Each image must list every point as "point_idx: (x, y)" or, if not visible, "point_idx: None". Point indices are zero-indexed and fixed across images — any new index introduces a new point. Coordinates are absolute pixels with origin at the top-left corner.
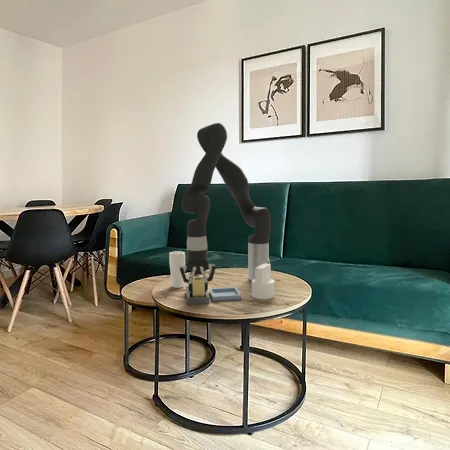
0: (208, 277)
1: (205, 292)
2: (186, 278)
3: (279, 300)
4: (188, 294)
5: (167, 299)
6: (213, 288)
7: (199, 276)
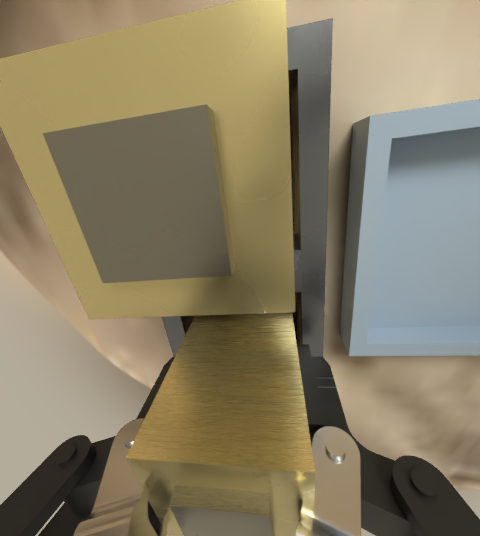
0: (391, 519)
1: (305, 307)
2: (80, 491)
3: None
4: (176, 334)
5: (58, 266)
6: (420, 114)
7: (246, 518)
